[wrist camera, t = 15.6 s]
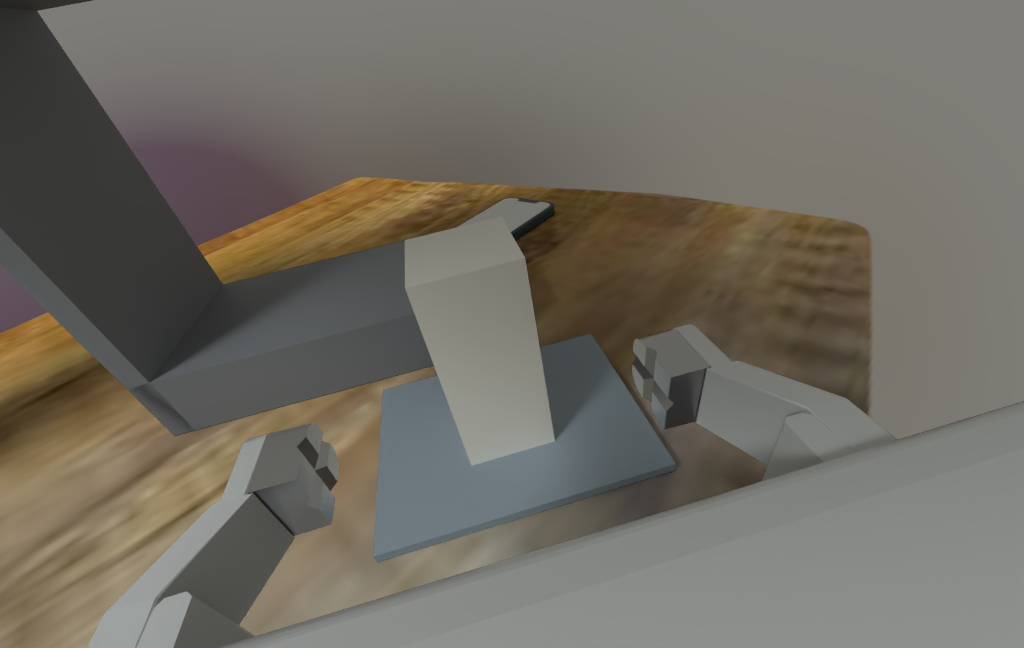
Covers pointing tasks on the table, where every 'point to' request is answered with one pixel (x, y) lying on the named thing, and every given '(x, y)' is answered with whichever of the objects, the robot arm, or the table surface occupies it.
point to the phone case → (516, 214)
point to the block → (481, 335)
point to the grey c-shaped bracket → (171, 264)
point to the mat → (512, 478)
